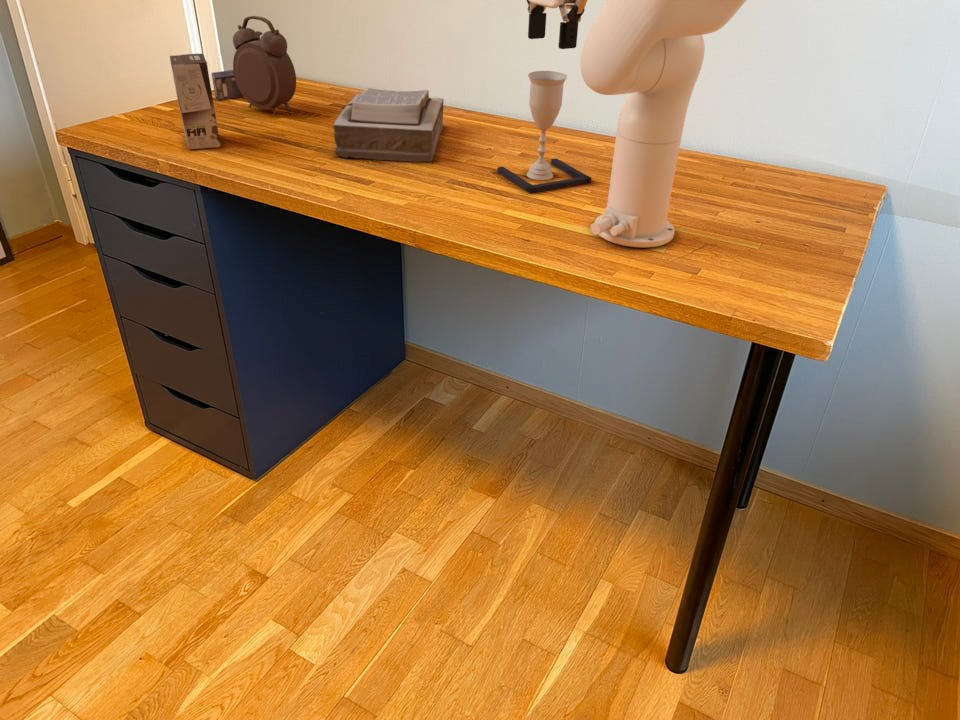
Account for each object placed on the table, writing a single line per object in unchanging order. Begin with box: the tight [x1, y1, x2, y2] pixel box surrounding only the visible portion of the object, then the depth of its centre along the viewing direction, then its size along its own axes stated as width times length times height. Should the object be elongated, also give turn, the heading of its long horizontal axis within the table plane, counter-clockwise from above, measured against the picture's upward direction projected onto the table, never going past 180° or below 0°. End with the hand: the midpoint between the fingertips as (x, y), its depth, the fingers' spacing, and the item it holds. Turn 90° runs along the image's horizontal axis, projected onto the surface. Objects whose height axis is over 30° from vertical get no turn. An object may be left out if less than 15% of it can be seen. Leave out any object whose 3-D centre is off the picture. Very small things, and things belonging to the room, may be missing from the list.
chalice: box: [526, 70, 568, 181], centre depth 133 cm, size 7×7×18 cm
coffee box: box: [169, 53, 221, 150], centre depth 145 cm, size 9×6×16 cm
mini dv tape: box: [211, 69, 244, 101], centre depth 177 cm, size 8×2×6 cm, turn 130°
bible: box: [332, 87, 445, 163], centre depth 150 cm, size 23×27×10 cm
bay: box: [497, 158, 592, 194], centre depth 137 cm, size 12×13×1 cm
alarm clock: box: [232, 15, 297, 115], centre depth 164 cm, size 15×7×20 cm, turn 58°
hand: (551, 43), depth 125 cm, fingers open, 9 cm apart
